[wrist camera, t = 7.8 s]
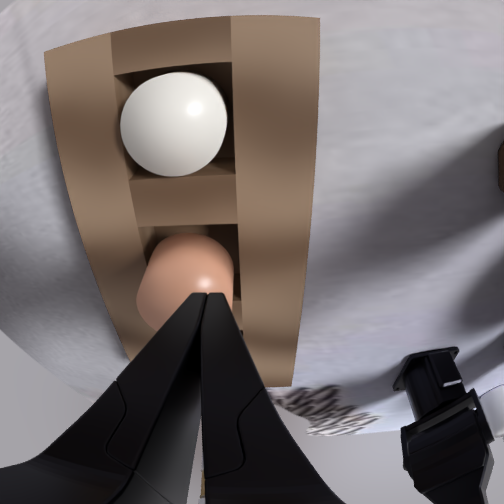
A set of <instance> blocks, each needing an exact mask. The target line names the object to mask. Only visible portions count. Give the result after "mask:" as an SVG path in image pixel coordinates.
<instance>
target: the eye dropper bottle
mask: <svg viewBox="0 0 504 504" xmlns="http://www.w3.org/2000/svg"><path fill="white" fill-rule="evenodd" d="M480 401H481V404H482V406H483V409H484V411H485V414H486V416H487V419H488V422H489V425H490V428H491V431H492V434H493V437H503V440H504V385H501V386H498V387H496V388H494V389H492V390H490V391H488V392H487V393H485V394H484V395H482V396H481V398H480Z"/></svg>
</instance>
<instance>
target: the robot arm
mask: <svg viewBox="0 0 504 504" xmlns="http://www.w3.org/2000/svg"><path fill="white" fill-rule="evenodd" d="M458 353H459V348H458V347H454V348H448V349H443V350H438V351H432V352H426V353H420V354H414V355H412V356H410V357H409V358H408V360H407V362H406V364H405V366H404V368H403V370H402V371H401V373H400V375H399V377H398V379H397V380H396V382H395V384H394V385H393V390H394V391H399V390H405V389H406V392H407V395H408V399H409V402H410V405H411V408H412V411H413V414H414V418H415V421H416V422H414V423H412V424H410V425H408V426H404V427H402V428H401V443H402V452H403V468H404V470H406V471H408V473H409V475H410V477H411V478H412V479H413V481H414V487H415V488H416V489H417V490H418V491H419V492H420V493H421V494H423V495H424V496H425V497H427V498H428V499H429V500H430V501H431V502H432V503H434V504H488V500H487V496H486V488H487V485H488V482H489V479H490V475H491V472H492V469H493V465H494V459H493V456H492V452H491V449H490V446H489V443H491V442H492V441H494V437H493V434H492V431H491V428H490V425H489V422H488V419H487V416H486V414H485V411H484V409H483V406H482V404H481V401H480V399H479V397H478V395H477V393H476V391H475V389H474V388H473V389H471V390H470V391H469V392H468V393H466V391H465V388H464V386H463V384H462V378H461V375H460V373H459V371H458V369H457V366H456V364H455V362H454V359H455V357H456V356H457V354H458ZM475 407H476V410H473V409H474V408H475ZM201 416H202V417H201ZM201 418H202V419H201ZM200 419H201V420H202V446H203V467H204V479H205V481H204V484H205V504H346V503H344V502H343V501H342V500H341V499H340V498H339V497H338V496H337V495H336V494H335V493H334V492H333V491H332V490H331V489H330V488H329V487H328V486H327V484H326V483H325V482H324V481H323V479H322V478H321V477H320V476H319V474H318V473H317V471H316V470H315V469H314V467H313V466H312V465H311V463H310V462H309V460H308V459H307V457H306V456H305V455H304V453H303V452H302V450H301V449H300V447H299V446H298V445H297V443H296V442H295V440H294V439H293V437H292V436H291V434H290V433H289V431H288V430H287V428H286V426H285V425H284V423H283V421H282V420H281V418H280V416H279V414H278V412H277V411H276V408H275V406H274V404H273V403H272V400H271V398H270V396H269V394H268V392H267V390H266V389H265V386H264V383H263V381H262V379H261V377H260V375H259V372H258V370H257V368H256V366H255V363H254V361H253V359H252V357H251V354H250V352H249V350H248V348H247V345H246V343H245V341H244V338H243V336H242V334H241V332H240V329H239V327H238V325H237V322H236V320H235V318H234V315H233V313H232V311H231V308H230V306H229V303H228V301H227V299H226V296H225V294H224V293H222V292H210V293H209V294H207V293H206V292H193V293H191V294H190V295H189V296H188V297H187V298H186V300H185V301H184V302H183V303H182V304H181V305H180V306H179V307H178V309H177V310H176V311H175V312H174V313H173V314H172V315H171V316H170V318H169V319H168V320H167V321H166V322H165V323H164V324H163V326H162V327H161V328H160V329H159V330H158V331H157V332H156V333H155V335H154V336H153V337H152V338H151V339H150V340H149V341H148V343H147V344H146V345H145V346H144V347H143V348H142V349H141V351H140V352H139V353H138V354H137V355H136V356H135V358H134V359H133V360H132V361H131V362H130V363H129V364H128V366H127V367H126V368H125V369H124V370H123V371H122V372H121V374H120V375H119V376H118V377H117V378H116V381H114V382H113V383H112V384H111V385H110V386H109V387H108V389H107V390H106V391H105V392H104V393H103V394H102V395H101V396H100V397H99V399H98V400H97V401H96V402H95V403H94V404H93V405H92V406H91V407H90V408H89V409H88V410H87V411H86V412H85V413H84V414H83V415H82V416H81V417H80V418H79V419H78V420H77V421H76V422H75V423H74V424H73V425H71V426H70V427H69V428H68V429H67V430H66V431H65V432H64V433H63V434H62V435H61V436H60V437H58V438H57V439H56V440H55V441H54V442H53V443H52V444H51V445H50V446H49V447H48V448H46V449H45V450H44V451H43V452H42V453H40V454H39V455H38V456H36V457H34V458H32V459H31V460H28V461H26V462H23V463H20V464H17V465H12V466H8V467H4V468H0V504H186V503H187V497H188V490H189V484H190V478H191V472H192V465H193V459H194V454H195V448H196V442H197V436H198V430H199V424H200Z"/></svg>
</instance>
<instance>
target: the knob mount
mask: <svg viewBox="0 0 504 504" xmlns="http://www.w3.org/2000/svg"><path fill="white" fill-rule="evenodd" d="M44 60H45V70H46V79H47V87H48V95H49V102H50V108H51V115H52V121H53V126H54V132H55V137H56V142H57V147H58V152H59V157H60V161H61V166H62V170H63V174H64V178H65V182H66V186H67V190H68V194H69V198H70V201H71V205H72V209H73V212H74V216H75V219H76V222H77V226H78V229H79V232H80V235H81V239H82V242H83V245H84V248H85V251H86V254H87V257H88V260H89V263H90V265H91V268H92V271H93V274H94V277H95V279H96V282H97V285H98V287H99V290H100V293H101V295H102V298H103V300H104V303H105V305H106V308H107V310H108V313H109V315H110V317H111V320H112V322H113V324H114V327H115V329H116V331H117V334H118V336H119V338H120V340H121V343H122V345H123V347H124V349H125V351H126V353H127V356H128V358H129V360H130V362H131V361H132V360H133V359H134V358H135V356H136V355H137V354H138V353H139V352H140V351H141V349H142V348H143V347H144V346H145V345H146V344H147V343H148V341H149V340H150V339H151V338H152V337H153V336H154V335H155V333H156V332H157V331H156V330H154V329H153V328H152V327H150V326H149V325H148V324H147V323H146V322H145V321H144V319H143V318H142V317H141V315H140V313H139V311H138V308H137V304H136V297H137V293H138V290H139V287H140V284H141V282H142V279H143V276H144V274H145V271H146V268H147V266H148V263H149V261H150V258H151V255H152V253H153V251H154V249H155V247H156V246H157V245H158V244H159V243H160V242H161V241H162V240H164V239H165V238H167V237H169V236H171V235H174V234H179V233H197V234H201V235H205V236H207V237H210V238H212V239H214V240H215V241H217V242H218V243H220V244H221V245H222V246H223V247H224V248H225V249H226V250H227V252H228V253H229V255H230V257H231V259H232V261H233V266H234V278H233V300H232V313H233V315H234V318H235V320H236V322H237V325H238V327H239V329H240V332H241V334H242V336H243V338H244V341H245V343H246V345H247V348H248V350H249V352H250V354H251V357H252V359H253V361H254V363H255V366H256V368H257V370H258V372H259V375H260V377H261V379H262V381H263V383H264V386H265V387H288V386H291V385H292V378H293V371H294V364H295V357H296V350H297V343H298V335H299V328H300V320H301V312H302V304H303V295H304V286H305V277H306V268H307V258H308V248H309V237H310V226H311V215H312V203H313V189H314V175H315V160H316V143H317V123H318V99H319V63H320V18H314V17H300V16H275V15H245V16H221V17H206V18H195V19H186V20H177V21H170V22H163V23H156V24H150V25H144V26H139V27H134V28H129V29H124V30H119V31H115V32H111V33H106V34H102V35H98V36H94V37H91V38H87V39H83V40H80V41H77V42H73V43H70V44H67V45H64V46H60V47H57V48H54V49H51V50H49V51H46V52H44ZM180 70H191V71H197V72H200V73H203V74H205V75H207V76H209V77H210V78H212V79H213V80H215V81H216V82H217V83H218V84H219V86H220V87H221V88H222V90H223V91H224V93H225V95H226V97H227V100H228V104H229V119H228V124H227V128H226V132H225V135H224V139H223V142H222V145H221V147H220V149H219V151H218V152H217V154H216V155H215V157H214V158H213V159H212V160H211V161H210V162H209V163H208V164H207V165H205V166H204V167H203V168H201V169H199V170H198V171H196V172H193V173H191V174H187V175H183V176H163V175H158V174H155V173H153V172H150V171H148V170H146V169H145V168H143V167H142V166H140V165H139V164H138V163H137V162H136V161H135V160H134V159H133V158H132V157H131V156H130V154H129V153H128V151H127V149H126V147H125V145H124V143H123V140H122V136H121V129H120V122H121V115H122V111H123V108H124V106H125V104H126V101H127V100H128V98H129V97H130V95H131V94H132V93H133V92H134V91H135V89H137V88H138V87H139V86H140V85H141V84H143V83H144V82H146V81H148V80H150V79H152V78H155V77H158V76H161V75H164V74H168V73H171V72H175V71H180Z"/></svg>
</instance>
